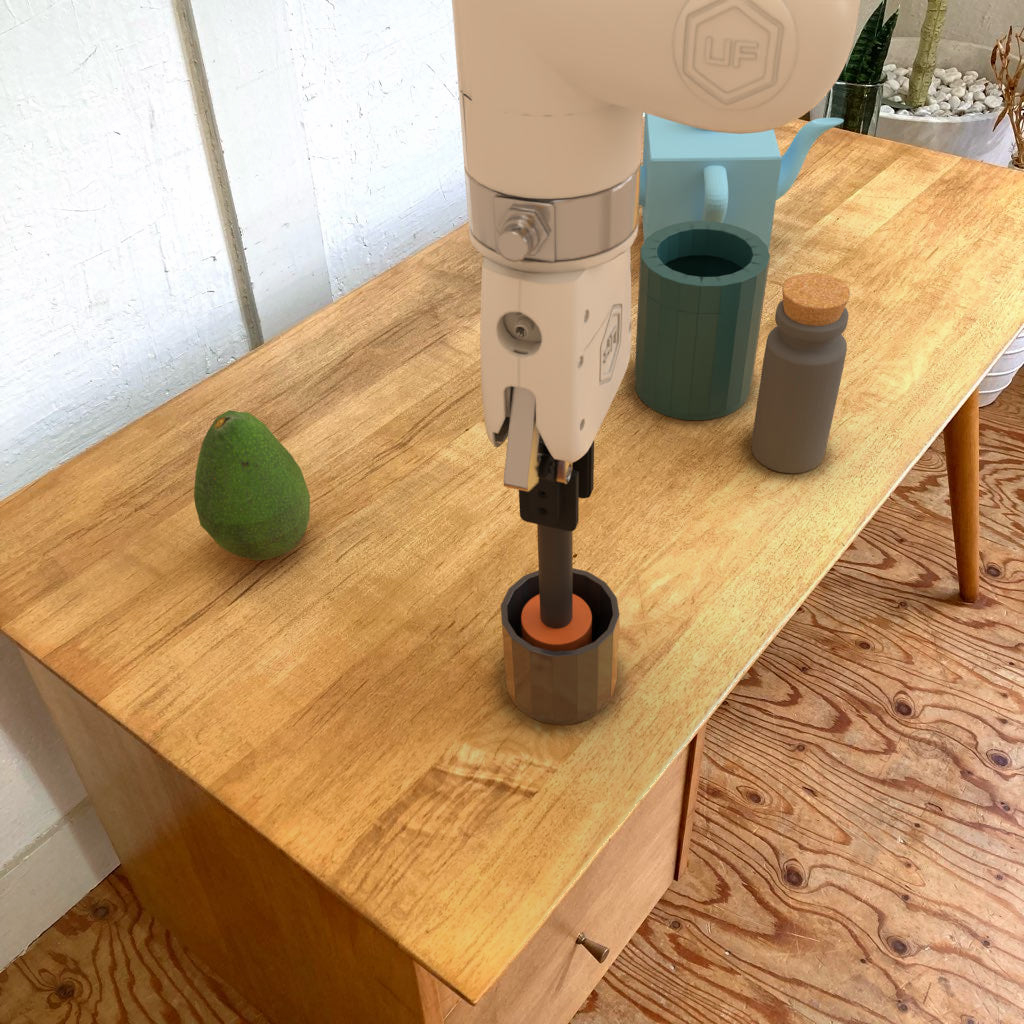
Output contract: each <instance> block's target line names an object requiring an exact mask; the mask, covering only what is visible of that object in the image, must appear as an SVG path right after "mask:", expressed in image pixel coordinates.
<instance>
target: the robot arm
mask: <svg viewBox="0 0 1024 1024" xmlns="http://www.w3.org/2000/svg"><path fill="white" fill-rule="evenodd" d="M451 6H452V9H451V10H452V21H453V36H454V49H455V60H456V71H457V72H456V73H457V74H456V75H457V87H458V88H457V89H458V99H459V101H458V102H459V113H460V116H459V117H460V127H461V128H460V129H461V141H462V153H463V154H462V155H463V169H464V183H465V196H466V197H465V198H466V210H467V222H468V236H469V240H470V242H471V244H472V246H473V248H474V249H475V250H476V251H477V252H478V253H479V254H480V255H481V256H483V258H482V263H481V283H480V285H481V286H480V319H479V320H480V322H479V323H480V327H479V328H480V330H479V331H480V332H479V333H480V334H479V335H480V339H479V340H480V341H479V343H480V345H479V346H480V347H479V348H480V349H479V350H480V382H481V383H480V384H481V385H480V386H481V399H482V400H481V401H482V411H483V412H482V413H483V420H484V426H485V431H486V435H487V438H488V439H489V441H490V443H491V444H492V445H493V447H494V448H499V447H501V446H502V445H503V444H504V443H505V441H506V440H507V443H506V451H505V462H504V471H503V472H504V473H503V487H504V488H509V489H513V490H518V500H519V501H518V504H519V507H518V508H519V517H520V519H521V520H522V521H524V522H526V523H530V524H535V525H537V524H539V525H543V526H548V527H552V528H556V529H561V530H565V531H573V532H574V531H575V530H576V528H577V527H578V524H579V511H580V509H579V503H580V502H579V501H580V500H579V499H584V500H585V499H588V498H590V497H591V495H592V493H593V491H594V477H595V476H594V475H595V473H594V472H595V438H596V437H597V435H598V432H599V430H600V428H601V426H602V425H603V422H604V420H605V418H606V416H607V414H608V412H609V410H610V407H611V406H612V404H613V401H614V399H615V397H616V395H617V392H618V391H619V388H620V386H621V384H622V382H623V379H624V377H625V375H626V372H627V369H628V366H629V363H630V359H631V352H632V259H631V257H632V255H631V247H632V246H633V245H634V243H635V241H636V239H637V237H638V235H639V217H640V216H639V215H640V205H639V197H640V176H641V165H642V146H643V145H642V144H643V143H642V142H643V127H644V126H643V123H644V114H645V113H647V114H650V115H653V116H657V117H660V118H663V119H666V120H670V121H673V122H676V123H680V124H684V125H687V126H691V127H695V128H700V129H705V130H709V131H714V132H722V133H733V134H744V133H757V132H764V131H769V130H772V129H774V130H775V129H778V128H781V127H783V126H786V125H789V124H791V123H792V122H795V121H796V120H798V119H800V118H801V117H803V116H804V115H806V114H807V113H809V112H810V111H811V110H812V109H814V108H815V107H816V106H818V104H820V102H821V101H822V100H823V99H824V98H825V97H826V96H827V95H828V94H829V92H830V91H831V89H832V88H833V87H834V86H835V84H836V82H837V81H838V80H839V78H840V76H841V73H842V72H843V70H844V68H845V65H846V63H847V61H848V59H849V56H850V53H851V51H852V48H853V45H854V39H855V35H856V31H857V26H858V21H859V19H858V18H859V13H860V6H861V0H451ZM539 444H543V445H546V447H547V448H548V450H549V452H550V454H551V455H548V454H543V453H538V447H539Z"/></svg>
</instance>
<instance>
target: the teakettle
mask: <svg viewBox="0 0 1024 1024" xmlns="http://www.w3.org/2000/svg"><path fill="white" fill-rule="evenodd" d="M844 121H845V120H844V119H843V118H840V117H819V118H815V119H812V120H810V121H807V122H806V123H805V124H804V125H803V126H802V127H801V128H799V130H798V131H797V133H796V134H795V136H794V137H793V139H792V141H791V143H790V145H789V146H788V148H787V149H786V151H785V152H784V153H783V155H781V152H780V148H779V144H778V141H777V136H776V132H775V129H772V130H769V131H764V132H757V133H744V134H733V133H722V132H714V131H709V130H705V129H700V128H695V127H691V126H687V125H684V124H680V123H676V122H673V121H670V120H666V119H663V118H660V117H657V116H653V115H650V114H647V113H644V126H643V145H642V146H643V148H642V164H641V176H640V197H639V206H641V216H642V231H643V232H642V233H643V235H642V236H643V242H644V241H645V239H646V238H647V237H649V236H650V235H651V234H653V233H654V232H655V231H657V230H660V229H662V228H665V227H667V226H670V225H673V224H678V223H684V222H690V221H708V222H709V221H711V222H719V223H726V224H730V225H734V226H737V227H740V228H743V229H746V230H748V231H749V232H751V233H753V234H755V235H757V236H758V237H759V238H760V239H761V240H762V241H763V242H764V243H765V244H766V245H767V247H768V250H769V251H770V245H771V238H772V233H773V232H772V231H773V224H774V219H775V218H774V216H775V211H776V210H775V209H776V202H777V201H778V200H779V199H781V198H782V197H784V196H785V194H787V193H788V192H789V190H790V189H791V188H792V187H793V185H794V183H795V182H796V181H797V178H798V176H799V175H800V172H801V170H802V168H803V165H804V163H805V160H806V158H807V156H808V154H809V152H810V150H811V148H812V146H813V145H814V144H815V142H816V141H817V140H818V138H819V137H821V136H822V135H823V134H824V133H826V132H827V131H829V130H831V129H833V128H835V127H837V126H839V125H842V123H844Z"/></svg>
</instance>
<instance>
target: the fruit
mask: <svg viewBox="0 0 1024 1024" xmlns="http://www.w3.org/2000/svg"><path fill="white" fill-rule="evenodd" d="M194 478H195V479H194V487H193V488H194V490H193V500H194V506H195V510H196V514H197V517H198V521H199V525H200V527H201V528H203V530H204V531H205V532H206V533H207V534H208V535H209V536H210V537H211V538H212V539H213V541H214V542H215V543H216V544H217V545H218V546H219V547H220V548H221V549H224V550H225V551H227V552H228V553H230V554H233V555H235V556H237V557H239V558H244V559H248V560H253V561H255V562H259V561H266V560H273V559H275V558H278V557H282V556H284V555H285V554H287V553H289V552H290V551H292V550H294V549H296V548H297V546H298V545H299V544H300V542H301V540H302V539H303V538H304V535H305V533H306V531H307V528H308V524H309V522H310V508H311V495H310V491H309V488H308V487H307V486H308V485H307V483H306V480H305V477H304V474H303V471H302V469H301V467H300V466H299V464H298V463H297V461H296V460H295V458H294V457H293V456H292V454H291V453H290V452H289V451H288V450H287V448H286V447H285V446H284V445H283V444H282V443H281V442H280V441H279V439H277V437H276V436H275V435H274V434H273V432H272V431H271V430H270V429H269V427H268V426H267V425H266V424H265V423H264V422H263V421H261V420H260V419H259V418H257V417H256V416H254V415H253V414H252V413H250V412H247V411H236V410H232V409H229V410H227V411H225V412H223V413H222V414H220V415H218V416H217V417H216V418H215V419H214V421H213V422H212V424H211V425H210V426H209V428H208V430H207V431H206V433H205V436H204V438H203V440H202V443H201V445H200V451H199V454H198V458H197V463H196V469H195V477H194Z"/></svg>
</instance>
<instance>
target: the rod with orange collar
mask: <svg viewBox="0 0 1024 1024" xmlns="http://www.w3.org/2000/svg"><path fill="white" fill-rule="evenodd" d="M538 453H543V454H548V455H551V454H550V452H549V450H548V448H547V447H546V445H543V444H539V447H538ZM536 530H537V531H536V533H537V558H538V559H537V562H538V563H537V564H538V570H539V595H536V596H535V597H533V598H532V599H530V600H529V601H528V602H527V604H526V605H525V606H524V608H523V610H522V614H521V630H522V639H523V640H524V641H526V642H527V643H529V644H530V645H532V646H534V647H538V648H542V649H546V650H550V651H567V650H576V649H579V648H581V647H584V646H586V645H589V644H591V643H592V614H591V610H590V608H589V606H588V605H587V604H586V602H585V601H584V600H583V599H581V598H580V597H578V596H577V595H575V594H573V568H574V567H573V566H574V565H573V564H574V563H573V559H574V558H573V554H574V553H573V551H574V550H573V549H574V547H573V545H574V544H573V543H574V542H573V535H574V534H573V532H574V531H565V530H561V529H556V528H552V527H548V526H543V525H539V524H536Z"/></svg>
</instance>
